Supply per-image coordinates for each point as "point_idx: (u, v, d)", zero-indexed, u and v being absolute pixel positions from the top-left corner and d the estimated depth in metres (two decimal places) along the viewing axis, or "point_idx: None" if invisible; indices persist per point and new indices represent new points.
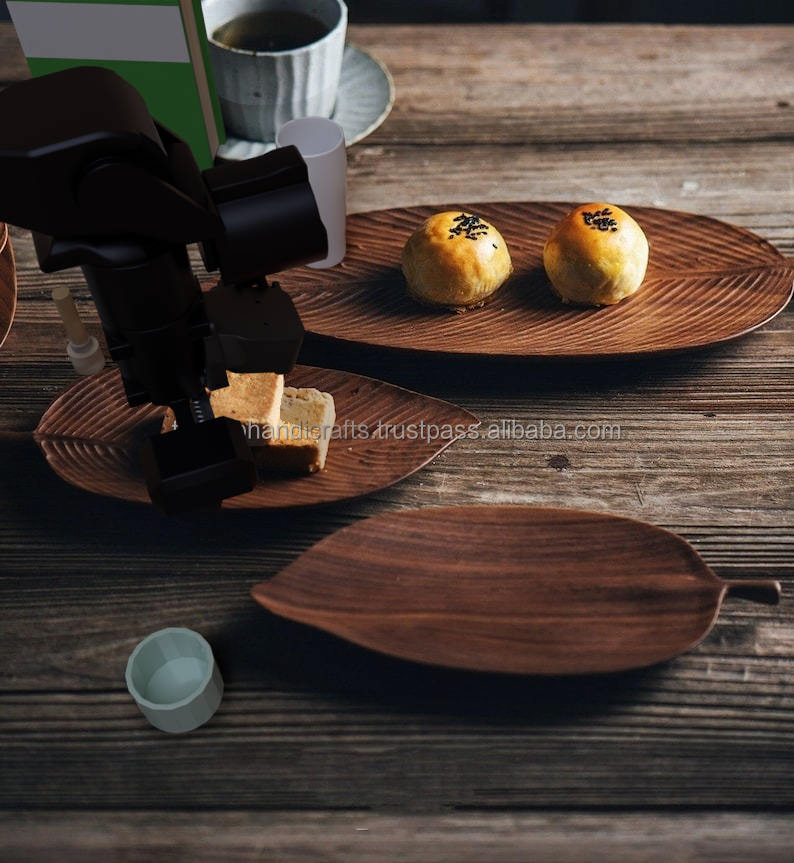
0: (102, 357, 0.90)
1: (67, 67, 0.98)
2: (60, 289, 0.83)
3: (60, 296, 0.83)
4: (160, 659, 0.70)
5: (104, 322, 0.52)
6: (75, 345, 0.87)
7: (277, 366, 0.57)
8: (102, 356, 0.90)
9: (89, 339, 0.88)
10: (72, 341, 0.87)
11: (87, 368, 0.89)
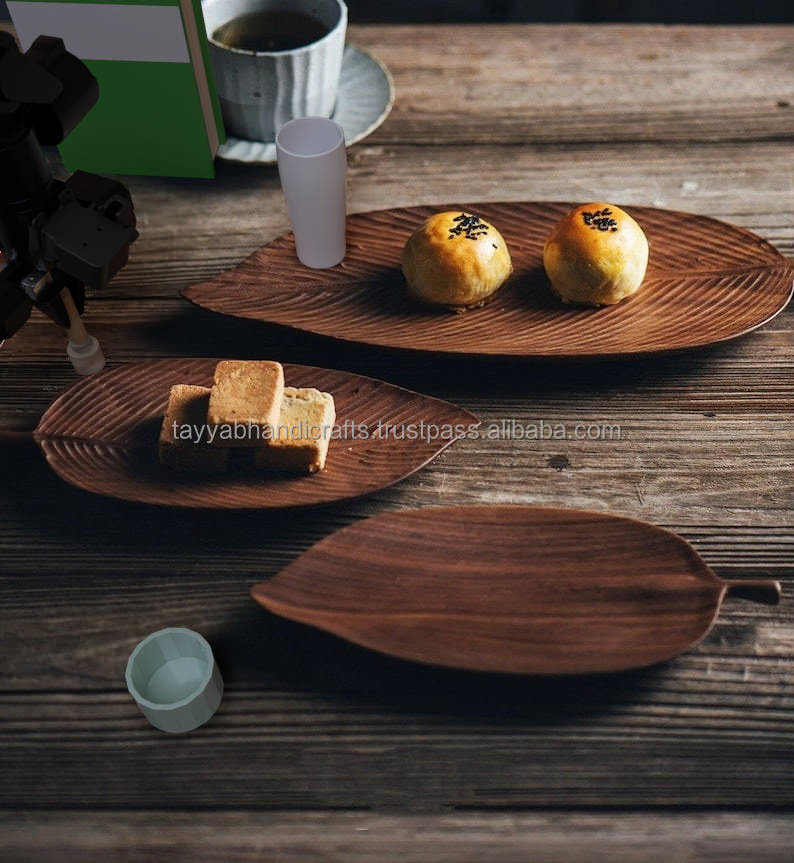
0: (102, 357, 0.90)
1: None
2: None
3: None
4: (160, 659, 0.70)
5: None
6: (75, 345, 0.87)
7: (83, 278, 0.75)
8: (102, 356, 0.90)
9: (89, 339, 0.88)
10: (72, 341, 0.87)
11: (87, 367, 0.89)
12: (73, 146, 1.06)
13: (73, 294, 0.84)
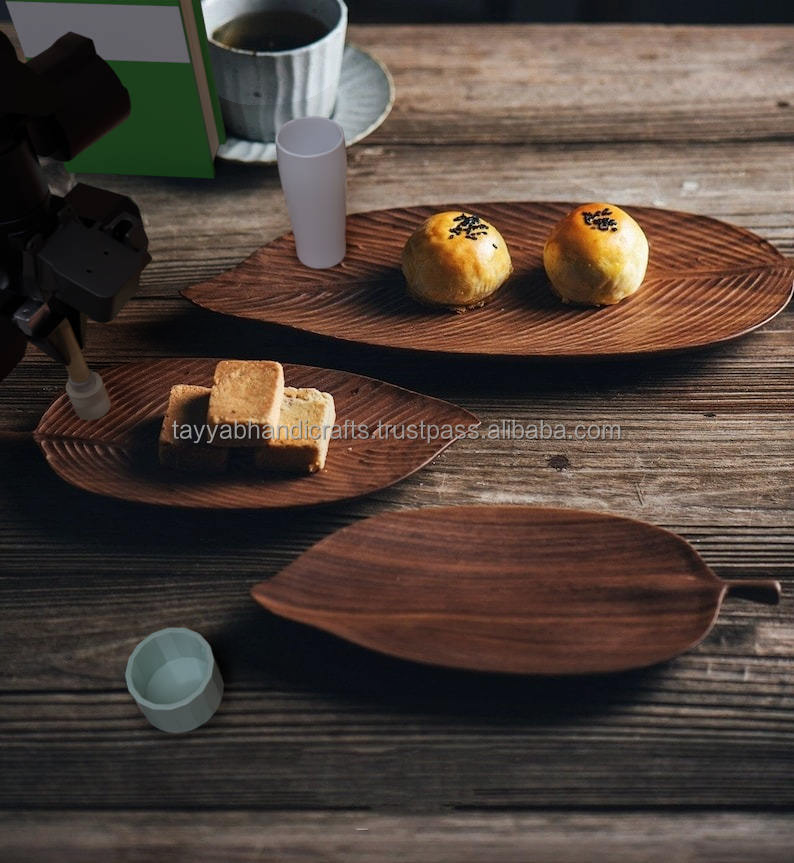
0: (106, 396, 0.79)
1: None
2: None
3: (59, 328, 0.71)
4: (160, 659, 0.70)
5: None
6: (75, 383, 0.76)
7: (87, 310, 0.64)
8: (106, 395, 0.79)
9: (91, 376, 0.77)
10: (72, 379, 0.76)
11: (89, 408, 0.78)
12: None
13: (73, 326, 0.73)
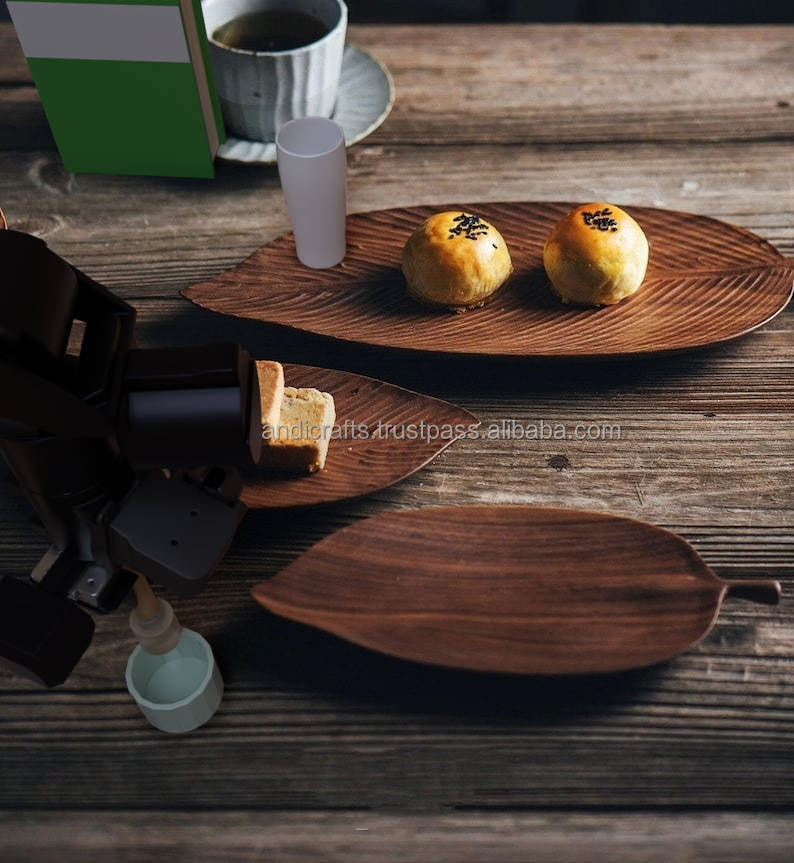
0: (177, 627, 0.65)
1: (67, 67, 0.98)
2: None
3: None
4: (160, 659, 0.70)
5: None
6: (142, 621, 0.63)
7: (170, 586, 0.51)
8: (177, 625, 0.65)
9: (161, 610, 0.63)
10: (138, 616, 0.62)
11: (158, 645, 0.64)
12: (73, 145, 1.06)
13: None
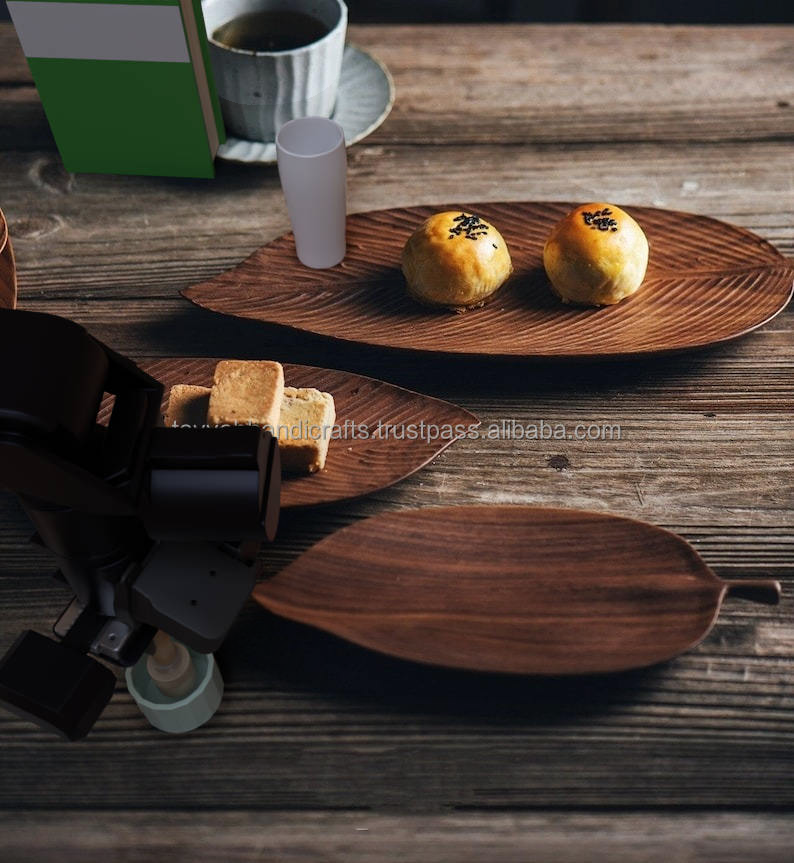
0: (193, 670, 0.67)
1: (67, 67, 0.98)
2: None
3: None
4: None
5: None
6: (160, 666, 0.64)
7: (189, 643, 0.52)
8: (193, 668, 0.67)
9: (178, 655, 0.65)
10: (156, 661, 0.64)
11: (174, 689, 0.66)
12: (73, 145, 1.06)
13: None
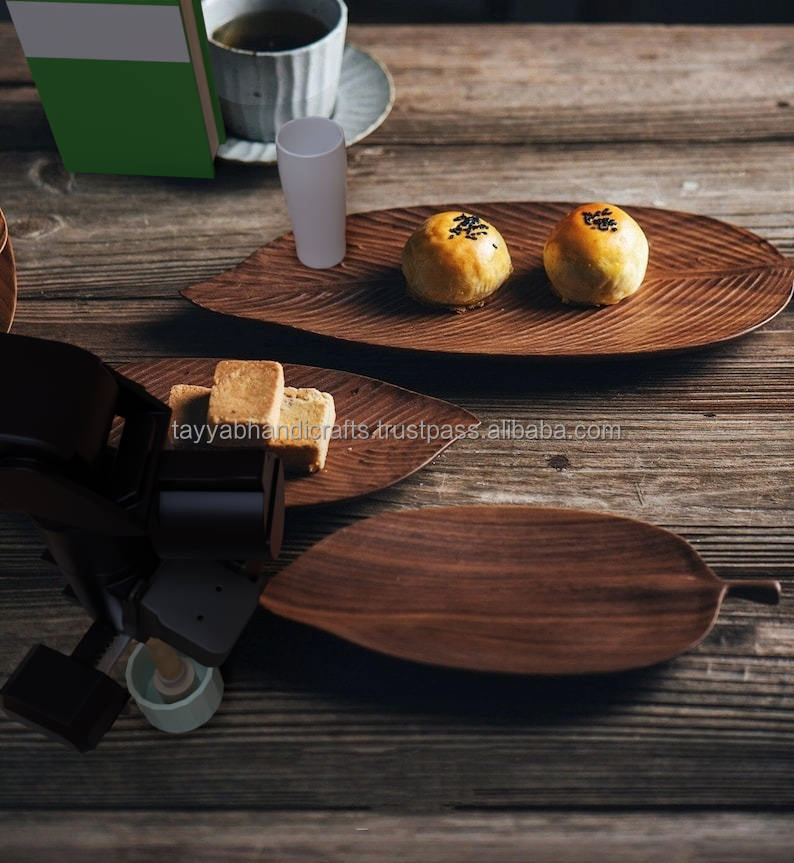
0: (198, 684, 0.69)
1: (67, 67, 0.98)
2: None
3: (152, 639, 0.62)
4: None
5: None
6: (166, 680, 0.66)
7: (196, 657, 0.54)
8: (198, 682, 0.69)
9: (183, 670, 0.67)
10: (162, 676, 0.66)
11: None
12: (73, 145, 1.06)
13: None
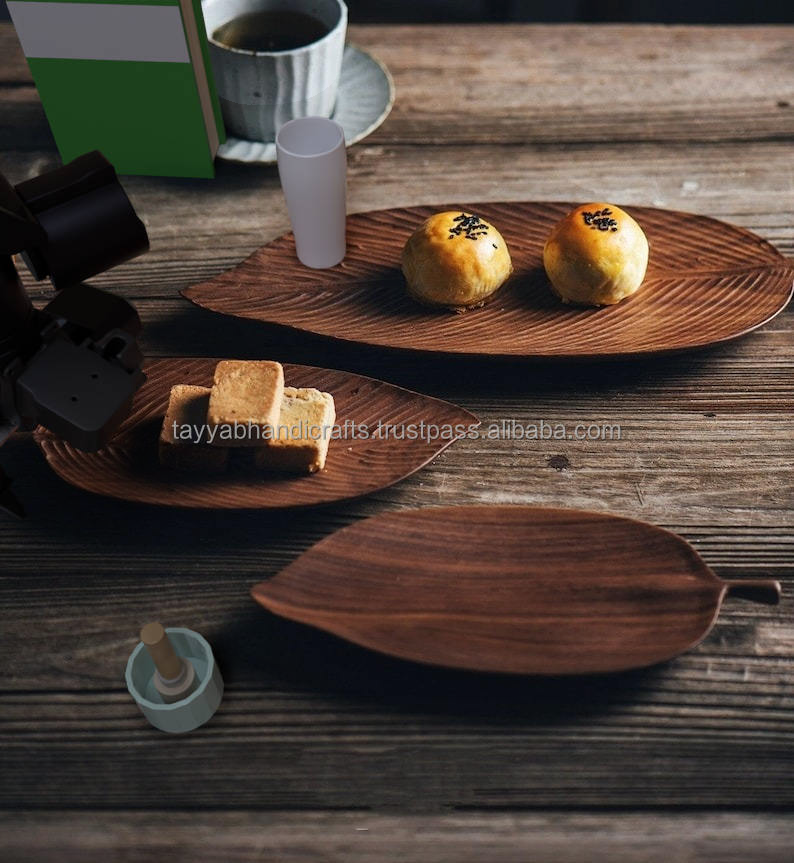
0: (198, 684, 0.69)
1: (67, 67, 0.98)
2: (151, 627, 0.62)
3: (152, 639, 0.62)
4: None
5: None
6: (166, 680, 0.66)
7: (72, 440, 0.57)
8: (198, 682, 0.69)
9: (183, 670, 0.67)
10: (162, 676, 0.66)
11: None
12: (73, 145, 1.06)
13: None
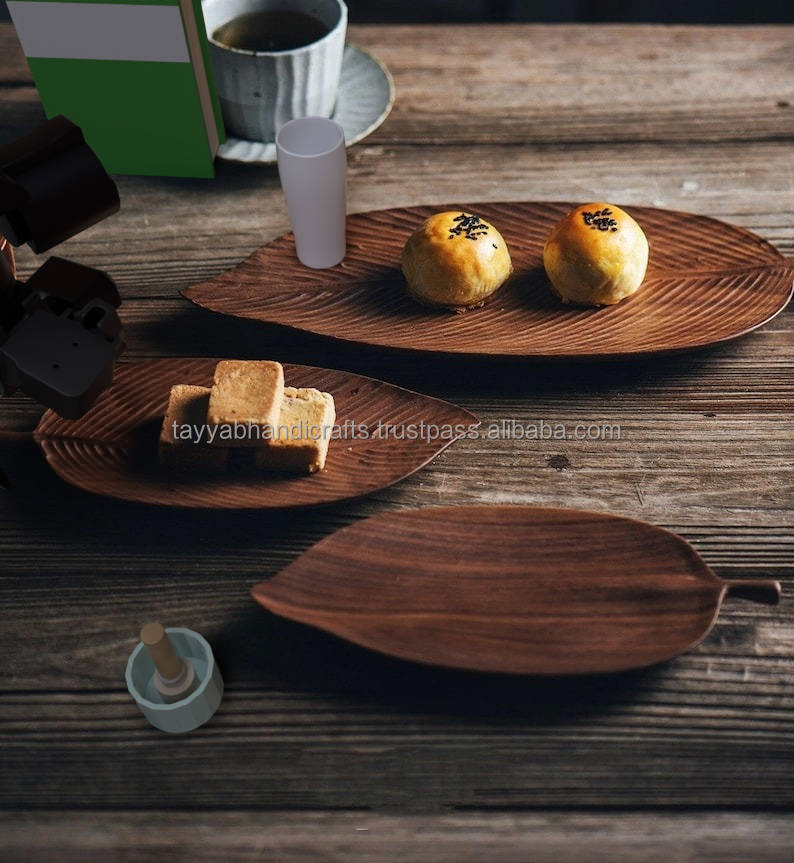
0: (198, 684, 0.69)
1: (67, 67, 0.98)
2: (151, 627, 0.62)
3: (152, 639, 0.62)
4: None
5: None
6: (166, 680, 0.66)
7: (55, 407, 0.58)
8: (198, 682, 0.69)
9: (183, 670, 0.67)
10: (162, 676, 0.66)
11: None
12: None
13: None
